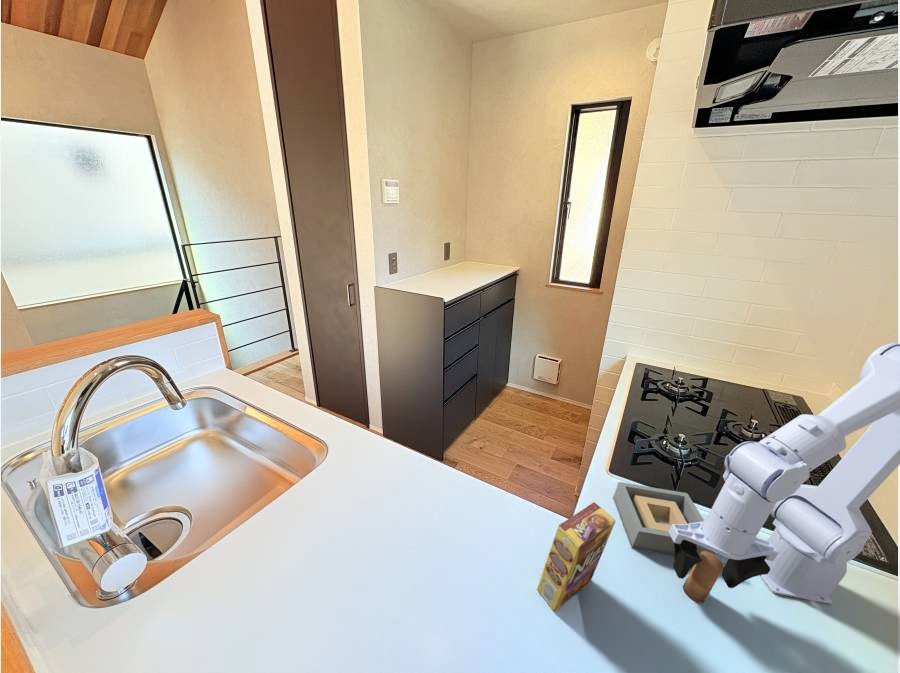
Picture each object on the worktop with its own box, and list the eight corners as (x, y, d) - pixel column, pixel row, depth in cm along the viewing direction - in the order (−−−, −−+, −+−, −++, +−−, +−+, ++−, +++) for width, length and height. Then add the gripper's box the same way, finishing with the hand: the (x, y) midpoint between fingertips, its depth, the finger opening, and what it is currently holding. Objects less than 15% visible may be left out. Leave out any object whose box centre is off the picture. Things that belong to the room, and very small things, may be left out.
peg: (698, 584, 61) (716, 553, 58) (708, 604, 58) (728, 572, 55) (679, 581, 61) (696, 549, 58) (688, 600, 58) (706, 568, 55)
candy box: (556, 616, 54) (579, 547, 48) (535, 590, 57) (555, 523, 52) (592, 585, 59) (617, 519, 53) (571, 563, 62) (592, 499, 56)
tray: (680, 508, 76) (687, 493, 74) (710, 562, 65) (719, 545, 63) (613, 497, 77) (618, 481, 75) (631, 548, 66) (638, 531, 64)
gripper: (769, 504, 56) (734, 562, 61) (673, 487, 57) (647, 546, 62) (804, 544, 49) (761, 606, 54) (695, 525, 50) (664, 587, 56)
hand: (702, 577), depth 58 cm, fingers open, 7 cm apart
